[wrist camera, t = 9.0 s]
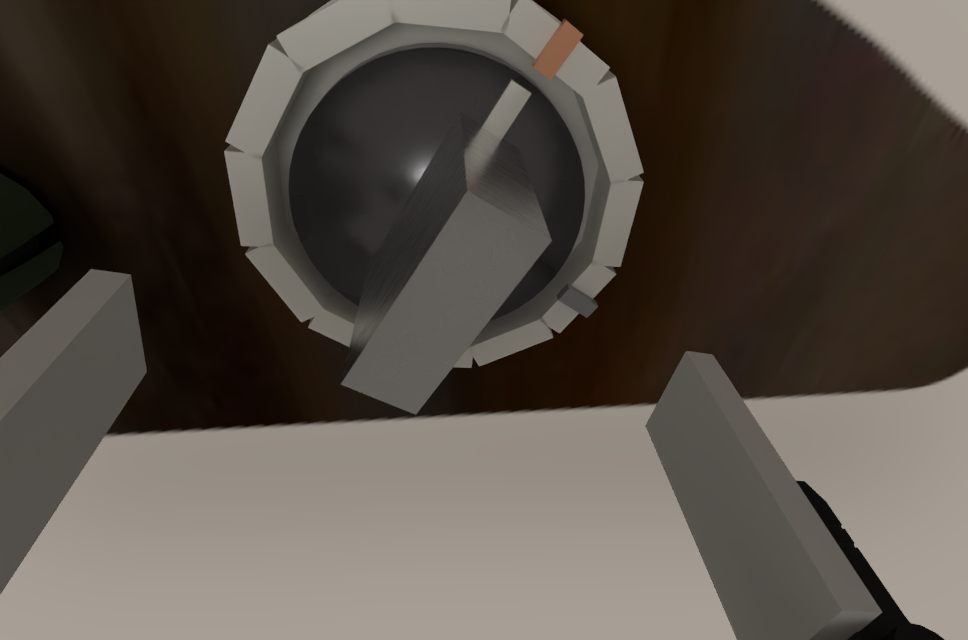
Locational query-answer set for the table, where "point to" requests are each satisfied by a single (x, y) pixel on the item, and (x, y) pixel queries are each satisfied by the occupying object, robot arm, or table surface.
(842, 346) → the table surface
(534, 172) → the dial
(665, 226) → the table surface
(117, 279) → the robot arm
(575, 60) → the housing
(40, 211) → the character mug
